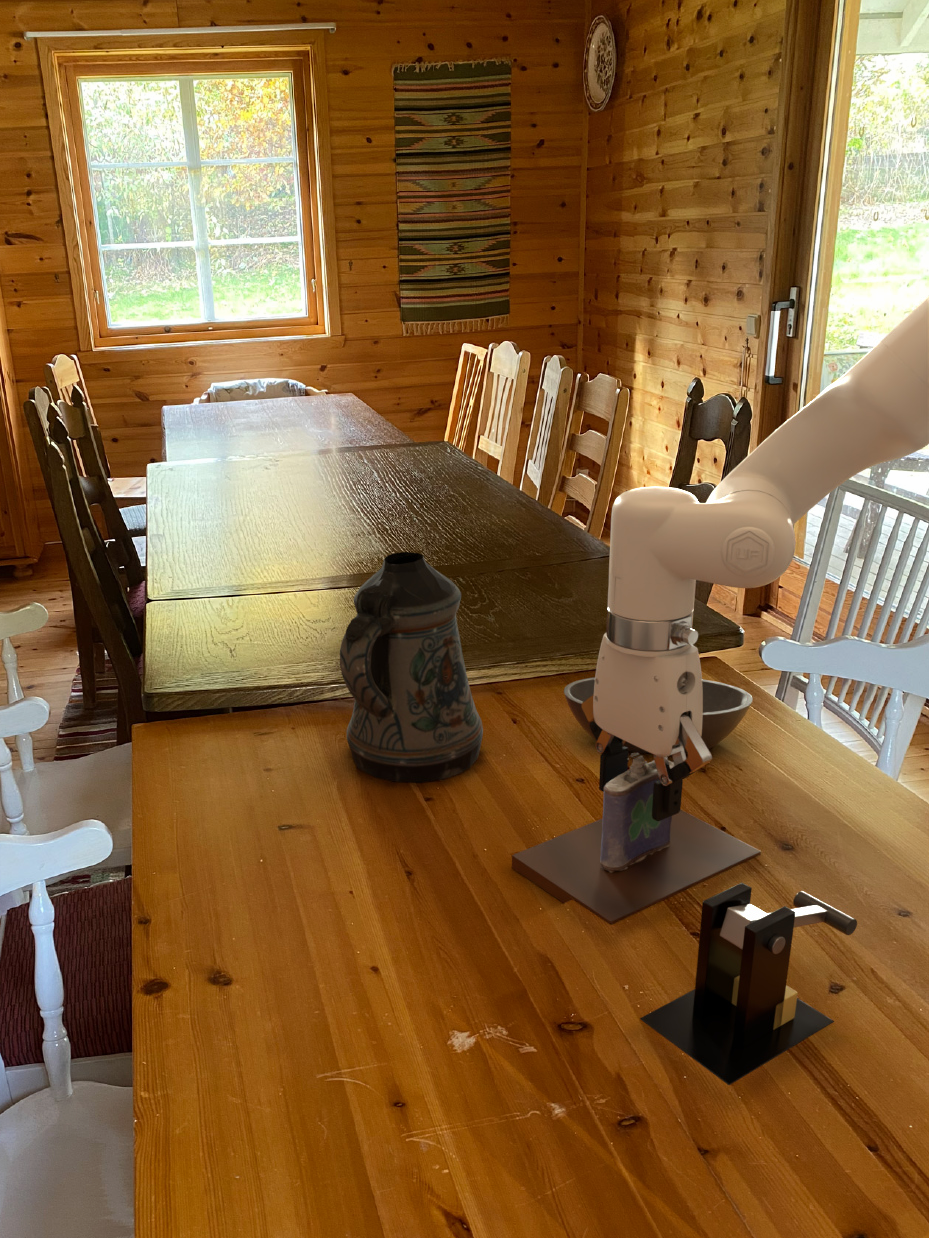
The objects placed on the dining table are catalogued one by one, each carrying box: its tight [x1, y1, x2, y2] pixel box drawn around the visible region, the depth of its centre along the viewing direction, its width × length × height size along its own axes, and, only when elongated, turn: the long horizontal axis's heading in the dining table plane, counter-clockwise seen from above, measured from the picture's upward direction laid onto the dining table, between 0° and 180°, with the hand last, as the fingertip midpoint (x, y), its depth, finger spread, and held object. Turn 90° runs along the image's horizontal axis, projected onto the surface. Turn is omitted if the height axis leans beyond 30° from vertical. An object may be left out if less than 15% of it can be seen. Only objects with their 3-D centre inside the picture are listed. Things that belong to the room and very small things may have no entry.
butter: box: [732, 975, 799, 1030], centre depth 87 cm, size 3×5×2 cm, turn 32°
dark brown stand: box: [639, 882, 835, 1086], centre depth 85 cm, size 12×9×12 cm
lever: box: [720, 890, 858, 949], centre depth 86 cm, size 12×5×2 cm, turn 123°
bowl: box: [563, 676, 753, 755], centre depth 134 cm, size 12×22×6 cm, turn 78°
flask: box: [600, 752, 675, 873], centre depth 107 cm, size 9×3×11 cm, turn 126°
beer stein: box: [339, 551, 484, 784], centre depth 129 cm, size 16×19×25 cm
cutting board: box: [511, 809, 762, 926], centre depth 109 cm, size 20×14×2 cm
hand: (638, 800), depth 107 cm, fingers open, 6 cm apart
